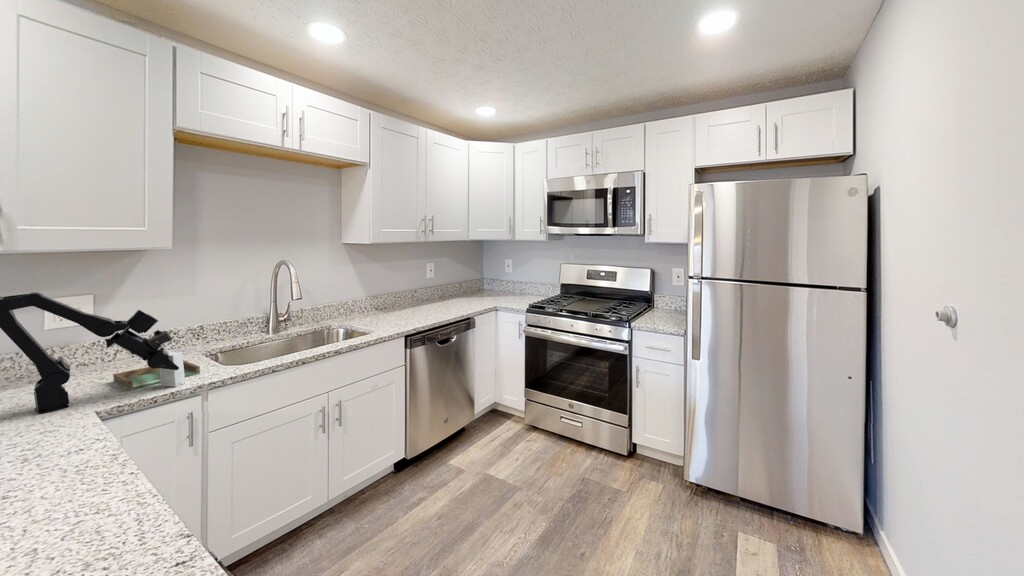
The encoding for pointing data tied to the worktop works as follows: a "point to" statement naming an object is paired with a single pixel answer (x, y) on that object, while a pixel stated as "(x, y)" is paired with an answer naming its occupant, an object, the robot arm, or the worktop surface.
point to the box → (148, 376)
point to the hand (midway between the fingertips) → (176, 366)
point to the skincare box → (173, 371)
